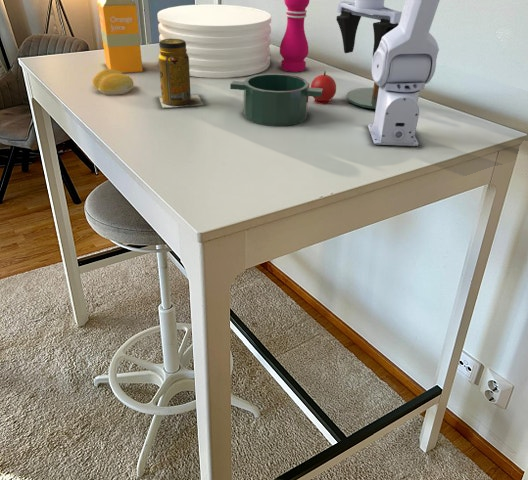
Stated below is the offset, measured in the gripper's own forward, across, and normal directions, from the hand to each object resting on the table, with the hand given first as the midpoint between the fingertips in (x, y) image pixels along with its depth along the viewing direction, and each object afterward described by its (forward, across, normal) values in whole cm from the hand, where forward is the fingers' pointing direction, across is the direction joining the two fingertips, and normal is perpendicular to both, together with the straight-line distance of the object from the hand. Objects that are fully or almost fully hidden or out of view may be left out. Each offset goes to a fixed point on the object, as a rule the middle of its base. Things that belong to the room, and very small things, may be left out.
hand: (362, 56), depth 113 cm
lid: (+9, -3, -4) cm, 10 cm away
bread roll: (+10, +39, +37) cm, 54 cm away
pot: (+9, +5, +20) cm, 23 cm away
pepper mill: (+10, +28, -8) cm, 30 cm away
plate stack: (+10, +44, +4) cm, 45 cm away
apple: (+9, +5, +6) cm, 12 cm away
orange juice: (+10, +53, +26) cm, 60 cm away
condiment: (+10, +23, +30) cm, 39 cm away
